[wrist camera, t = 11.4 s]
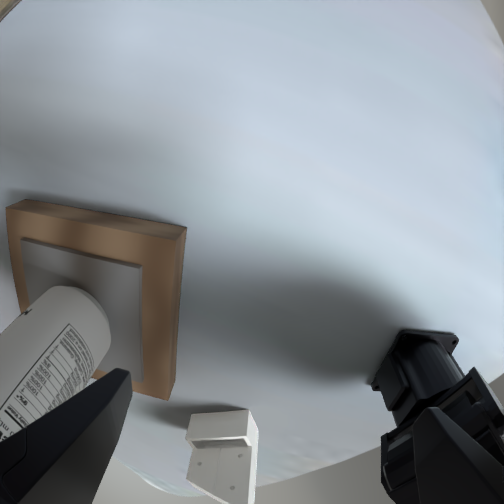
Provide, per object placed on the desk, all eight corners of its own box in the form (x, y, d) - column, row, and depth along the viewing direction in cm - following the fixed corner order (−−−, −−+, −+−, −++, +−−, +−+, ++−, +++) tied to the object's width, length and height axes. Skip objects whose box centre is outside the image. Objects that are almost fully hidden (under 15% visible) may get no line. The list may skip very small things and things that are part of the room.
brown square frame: (186, 227, 20) (173, 244, 17) (175, 380, 25) (166, 405, 22) (25, 199, 19) (1, 209, 17) (44, 338, 25) (29, 356, 22)
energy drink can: (48, 266, 18) (-101, 407, 4) (120, 299, 19) (-11, 497, 5) (49, 330, 20) (-54, 465, 6) (113, 361, 21) (27, 528, 7)
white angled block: (303, 444, 24) (253, 518, 18) (220, 415, 30) (169, 471, 24) (297, 423, 23) (240, 504, 17) (209, 394, 29) (152, 453, 23)
